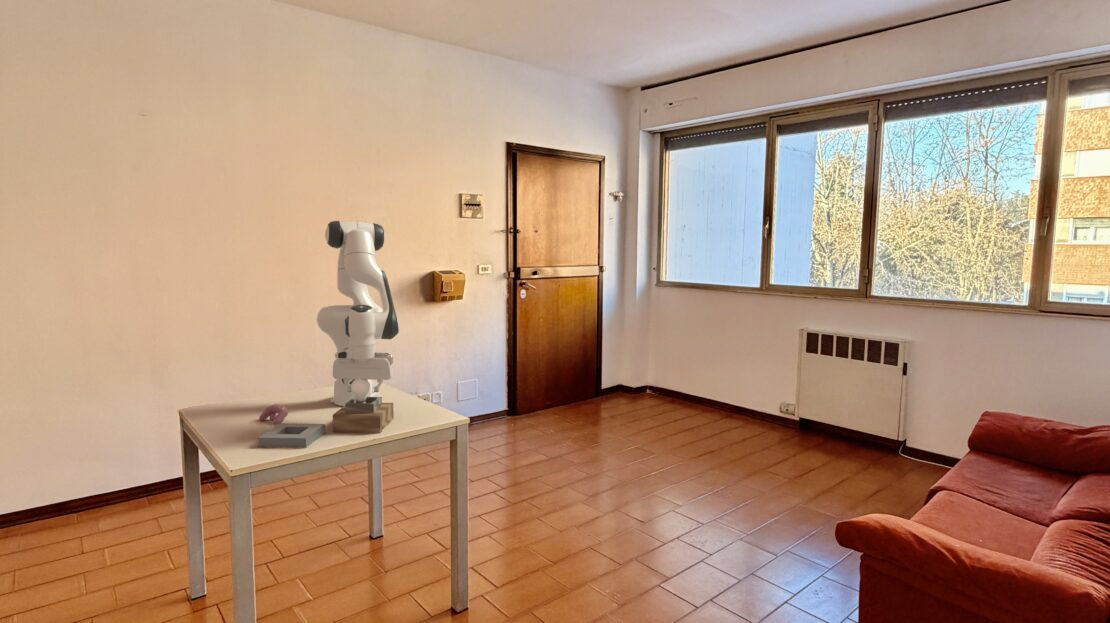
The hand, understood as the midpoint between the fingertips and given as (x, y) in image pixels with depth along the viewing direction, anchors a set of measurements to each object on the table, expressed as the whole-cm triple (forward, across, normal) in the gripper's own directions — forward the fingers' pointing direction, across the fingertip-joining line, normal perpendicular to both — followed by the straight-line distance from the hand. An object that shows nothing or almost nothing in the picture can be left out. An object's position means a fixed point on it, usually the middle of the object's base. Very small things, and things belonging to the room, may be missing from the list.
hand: (363, 391), depth 208 cm
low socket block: (+12, +18, +16) cm, 27 cm away
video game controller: (+12, +33, -3) cm, 36 cm away
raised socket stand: (+12, 0, 0) cm, 12 cm away
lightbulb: (+6, +1, 0) cm, 6 cm away
